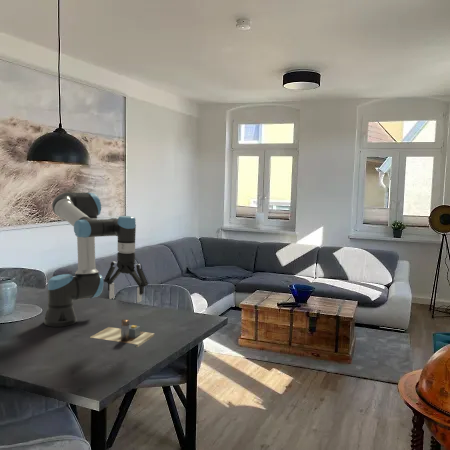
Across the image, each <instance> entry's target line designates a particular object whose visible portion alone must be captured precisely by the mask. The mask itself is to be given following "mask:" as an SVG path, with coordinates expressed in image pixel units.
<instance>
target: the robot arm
mask: <svg viewBox="0 0 450 450" xmlns="http://www.w3.org/2000/svg"><path fill="white" fill-rule="evenodd" d="M51 208H52V211H53V213H54V215H56V216H57V217H59V218H61V219H64V220H65V221H66V222H68V223H69V225H70V226H72V227H73V232H74V235H75V236H76V239H77V240H76V241H77V242H76V243H77V269H76V271H75V273H74V275H75V276H73V274H69V273H63V274H57V275H54V276H52V277H51V278H49V279H48V281H47V309H46V313H45V315H44V319H43V321H44V322H43V323H44V324H43V325H45V326H47V327H51V328H52V327H53V328H55V327H58V328H60V327H61V328H62V327H66V326H71V325H74V324H76V323H77V314H76V312H75V309H74V306H73V304H74V301H79V300H84V299H86V300H87V299H93V298H98V297H99V296H101V294H102V292H103V290H104V282H105V283H107V291H109V294H108V295H109V299H110V300H112V299H115V282H114V281H115V280H116V279H117V278H118V276H119V275H120V274H126V275H127V274H129V275H130V276H131V277H132V278H133V280H134V281H135V283H136V284H137V289H136V290H137V291H136V293H137V294H136V303H140V302H142V296H143V294H144V293H145V292H144V287H147V286H148V285H149V283H148V281H147V278H146V275H145V273H144V271H143V269H142V268H143V267H142V264H141V263H138V264H137V263H136V262H135V261H136V230H137V229H136V228H137V224H136V217H135V216H130V215H120V216H119V217H118V218H114V217H113V218H111V217H110V218H104V219H103V218H98V216H99V215H100V214H101V213H102V212H101V211H102V204H101V199H100V198H99V196H98V195H97V194H96V193H94V192H93V193H92V192H63V193H60V194H59V195H57V196H56V197H55V198H54V199H53V200H52V205H51ZM95 237H96V238H98V237H117V254H116V256H117V258H116V259H117V261H115V260H114V261H112V262H110V266H109V269H108V271H107V273H106V275H105V277H103V275H102V274H100V273H99V270H98V269H97V268H96V267H97V266H96V243H95V240H96V238H95ZM116 267H117V269H116ZM115 269H116V270H115ZM135 269H136V270H135ZM114 270H115V272H114ZM113 273H114V274H113Z"/></svg>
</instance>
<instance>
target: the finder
mask: <svg viewBox="0 0 450 450" xmlns="http://www.w3.org/2000/svg"><path fill="white" fill-rule="evenodd" d="M140 331H141V326H140V325H134V324H129V337H130V338H136V337H138V336H139V335H140Z"/></svg>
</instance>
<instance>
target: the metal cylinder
mask: <svg viewBox="0 0 450 450" xmlns="http://www.w3.org/2000/svg"><path fill="white" fill-rule="evenodd" d="M129 325H130V319H127V318H124V319H122V320H121V328H120V329H121V341H123V342H122V343H124V342H127V341H129Z"/></svg>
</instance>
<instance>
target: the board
mask: <svg viewBox="0 0 450 450" xmlns="http://www.w3.org/2000/svg"><path fill="white" fill-rule="evenodd" d="M154 337H155V333H154V332H147V331H141V330H140V335H139V336H138V337H136V338H130V337H129V341H127V342H123V341H121V328H118V327H111V326H108V327H106V328H103V330H100V331H99V332H97V333H95V334H93V335H91V336H90V337H89V338H91V339H97V340H98V339H99V340H106V341H112V342H118V343H125V344H130V345H131V344H133V345H135V346H134V347H135V348H139V347H140V346H142V345H143V344H144V343H146V342H148V341H149V340H151V339H152V338H154Z"/></svg>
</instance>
